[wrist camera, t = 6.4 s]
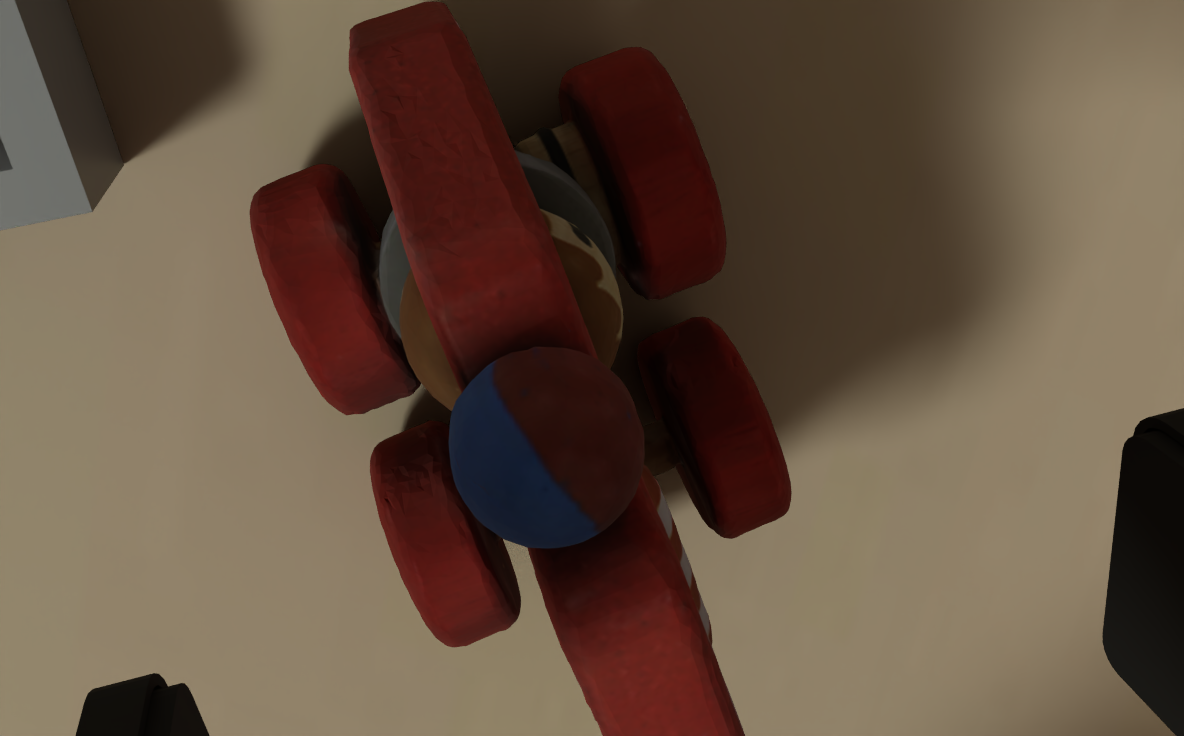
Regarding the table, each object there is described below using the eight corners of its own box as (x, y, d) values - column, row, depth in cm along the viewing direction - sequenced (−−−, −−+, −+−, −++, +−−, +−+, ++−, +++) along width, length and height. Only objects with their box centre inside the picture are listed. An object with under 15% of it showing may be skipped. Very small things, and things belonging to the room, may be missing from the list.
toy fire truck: (590, -81, 18) (869, -30, 9) (755, 500, 24) (1030, 897, 15) (194, 60, 18) (57, 268, 8) (458, 619, 23) (549, 1107, 14)
